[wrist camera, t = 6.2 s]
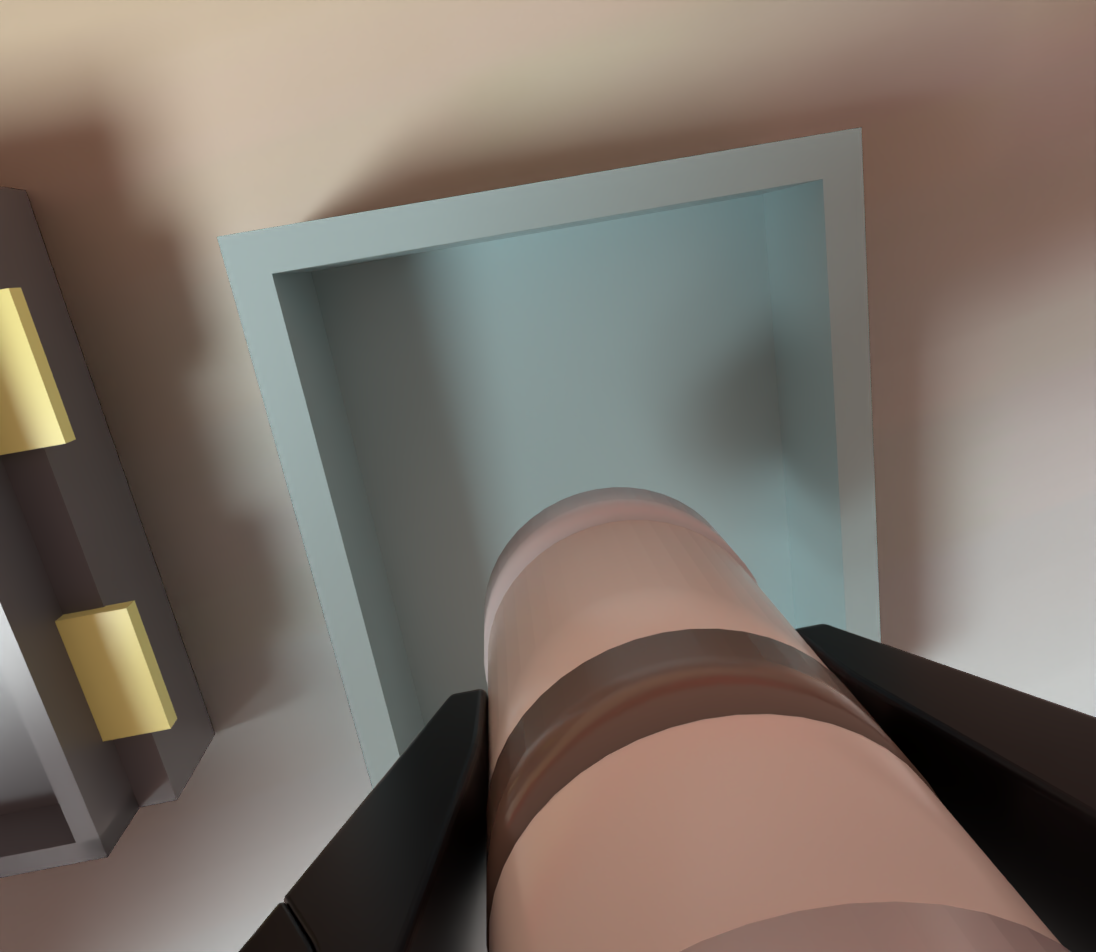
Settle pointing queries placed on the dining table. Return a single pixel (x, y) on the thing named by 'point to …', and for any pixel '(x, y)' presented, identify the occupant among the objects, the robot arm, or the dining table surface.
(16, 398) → the block
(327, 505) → the tray
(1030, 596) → the dining table surface
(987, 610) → the dining table surface
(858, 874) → the fuse
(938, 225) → the dining table surface
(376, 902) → the robot arm
